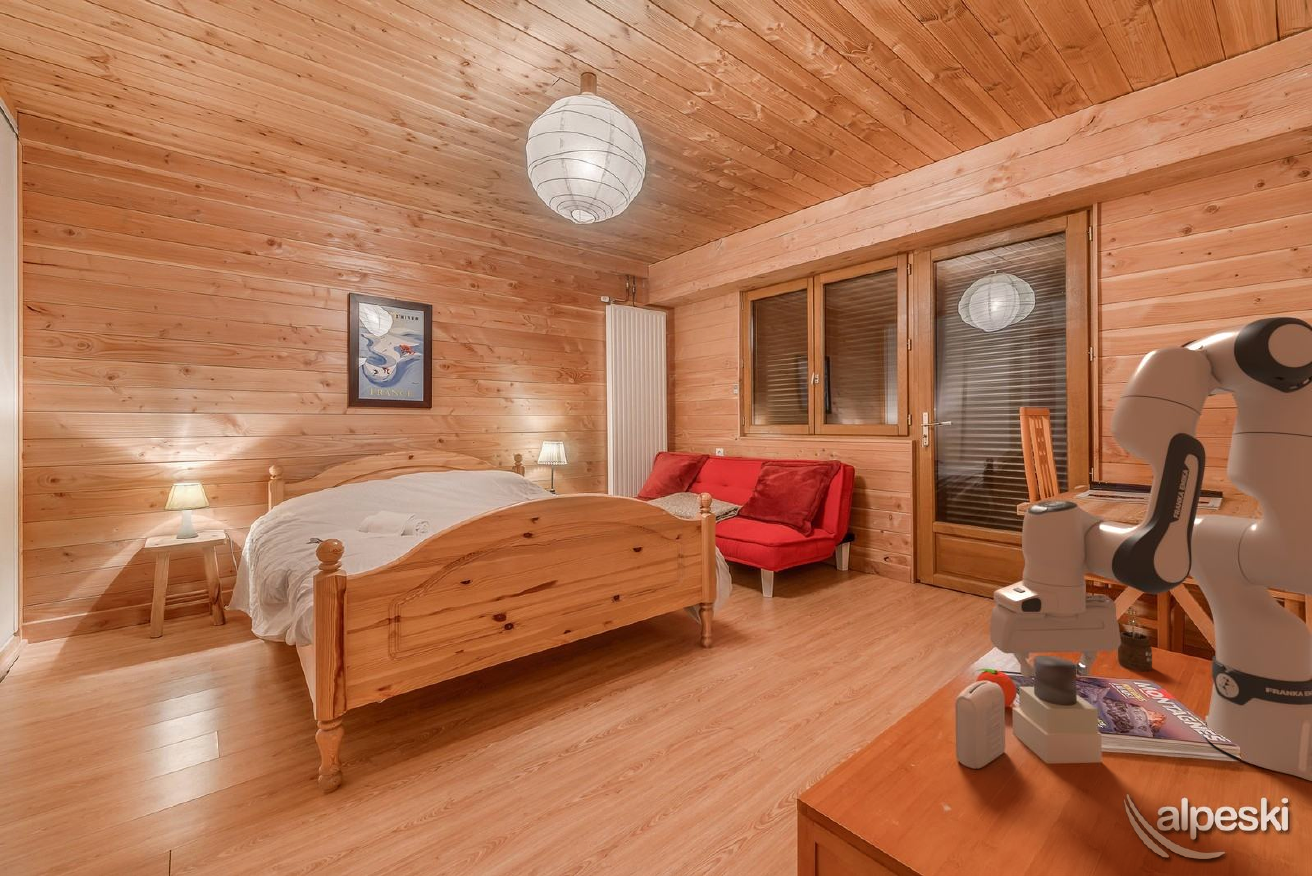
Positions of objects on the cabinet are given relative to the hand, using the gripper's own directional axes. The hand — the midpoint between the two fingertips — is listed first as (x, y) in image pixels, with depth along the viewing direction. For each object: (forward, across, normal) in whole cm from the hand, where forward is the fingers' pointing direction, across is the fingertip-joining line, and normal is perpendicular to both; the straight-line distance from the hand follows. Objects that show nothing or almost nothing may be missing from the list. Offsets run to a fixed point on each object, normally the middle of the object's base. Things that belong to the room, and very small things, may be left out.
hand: (1055, 675), depth 97 cm
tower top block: (+8, 0, 0) cm, 8 cm away
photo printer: (+13, +14, +2) cm, 19 cm away
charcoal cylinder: (+4, 0, 0) cm, 4 cm away
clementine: (+13, +2, -15) cm, 20 cm away
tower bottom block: (+13, 0, 0) cm, 13 cm away
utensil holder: (+13, -39, -31) cm, 51 cm away
